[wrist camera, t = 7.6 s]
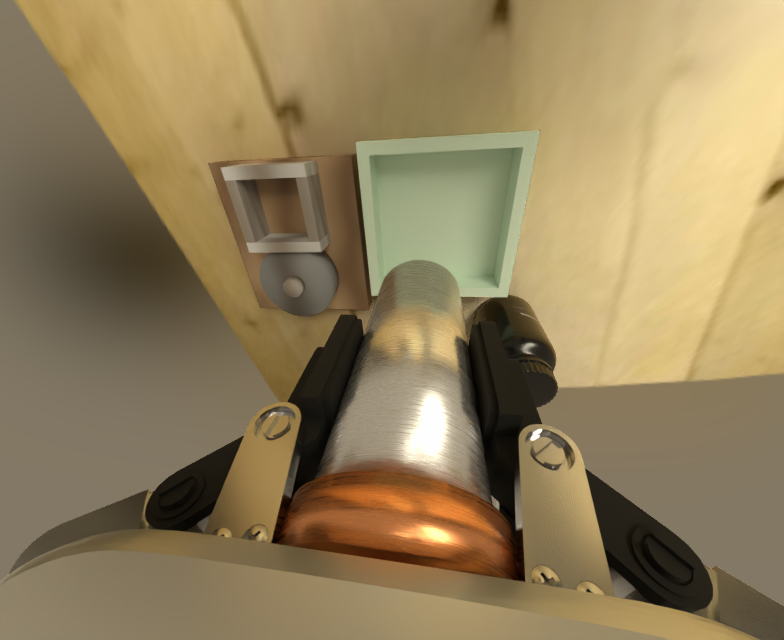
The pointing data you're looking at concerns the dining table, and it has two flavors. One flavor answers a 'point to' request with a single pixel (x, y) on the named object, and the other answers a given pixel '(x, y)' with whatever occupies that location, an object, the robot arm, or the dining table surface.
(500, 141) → the tray
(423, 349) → the jar with copper lid
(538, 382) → the supplement bottle
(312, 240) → the wooden stand
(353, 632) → the robot arm
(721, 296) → the dining table surface
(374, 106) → the dining table surface
